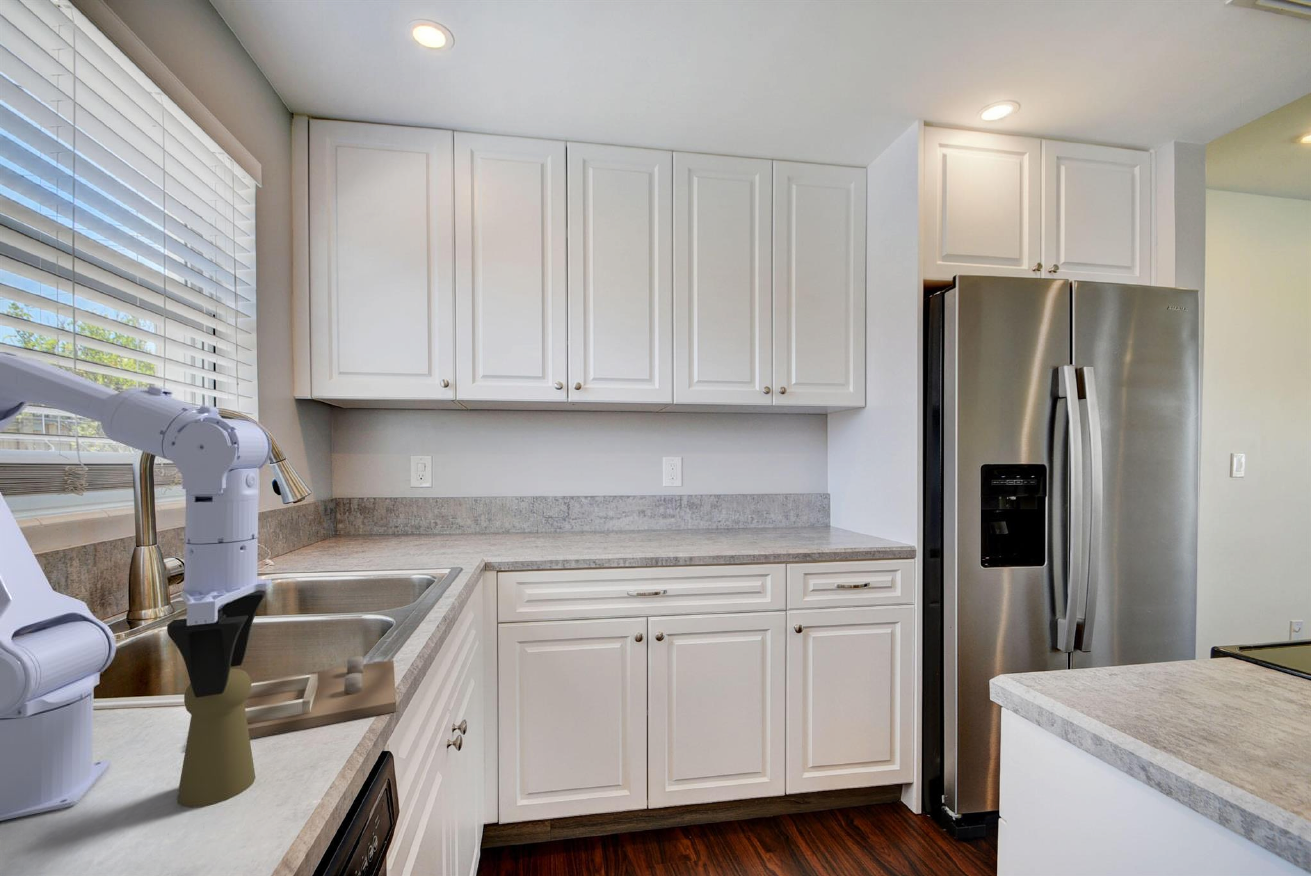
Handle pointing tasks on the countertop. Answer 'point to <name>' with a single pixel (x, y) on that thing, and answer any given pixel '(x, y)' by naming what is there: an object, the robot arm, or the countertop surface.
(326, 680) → the board
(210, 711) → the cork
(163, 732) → the countertop surface
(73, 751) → the robot arm
